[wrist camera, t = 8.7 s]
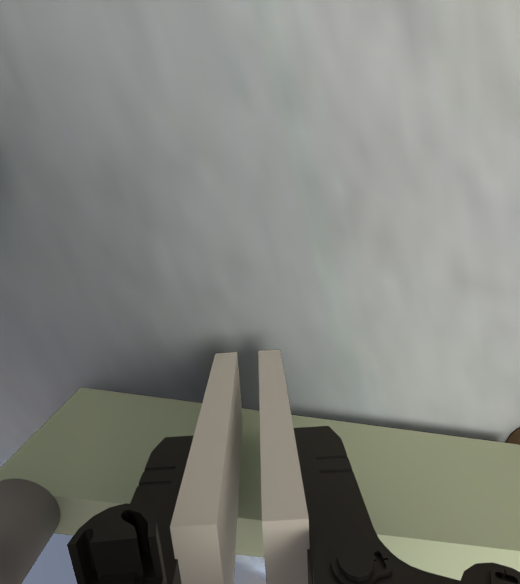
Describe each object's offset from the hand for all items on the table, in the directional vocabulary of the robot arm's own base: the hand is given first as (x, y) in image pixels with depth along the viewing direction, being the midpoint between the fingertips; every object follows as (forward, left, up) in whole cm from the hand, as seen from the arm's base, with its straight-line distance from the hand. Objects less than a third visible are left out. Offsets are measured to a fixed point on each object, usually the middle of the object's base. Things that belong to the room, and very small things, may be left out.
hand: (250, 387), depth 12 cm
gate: (+3, +2, -1) cm, 4 cm away
